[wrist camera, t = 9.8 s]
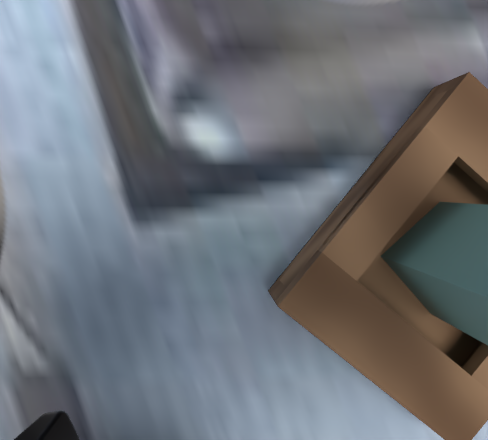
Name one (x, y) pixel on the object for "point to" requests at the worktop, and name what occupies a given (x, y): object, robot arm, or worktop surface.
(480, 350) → the walnut box
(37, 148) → the worktop surface
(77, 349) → the worktop surface
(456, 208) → the teal post
